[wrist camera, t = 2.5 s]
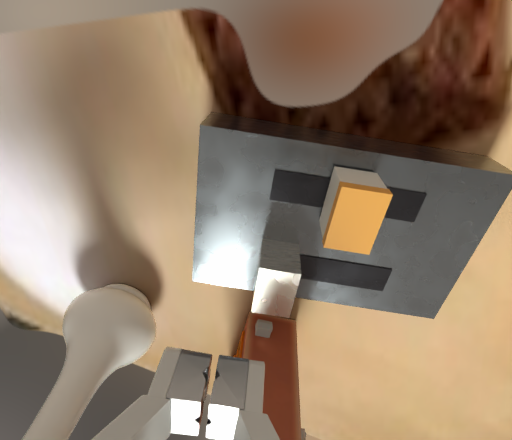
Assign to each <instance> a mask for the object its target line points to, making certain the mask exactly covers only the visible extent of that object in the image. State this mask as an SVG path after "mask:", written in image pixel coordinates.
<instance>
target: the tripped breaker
mask: <svg viewBox="0 0 512 440" xmlns="http://www.w3.org/2000/svg"><path fill="white" fill-rule="evenodd" d="M392 196H393V194H392V193H391V191H390V190H389V189H387V187H386V186H385V184H384V183H383V181H382V180H381V178H380V177H379V175H378V174H377V173H374V172H367V171H361V170H355V169H349V168H342V167H336V166H334V169H333V173H332V176H331V180H330V183H329V187H328V190H327V194H326V198H325V201H324V205H323V208H322V212H321V216H320V219H319V222H320V227H321V232H322V238H323V240H322V243H323V248H329V249H335V250H342V251H348V252H354V253H361V254H367V255H369V254H370V252H371V249H372V246H373V244H374V241H375V239H376V236H377V234H378V231H379V229H380V226H381V224H382V221H383V219H384V216H385V214H386V211H387V209H388V206H389V204H390V201H391V199H392Z"/></svg>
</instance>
